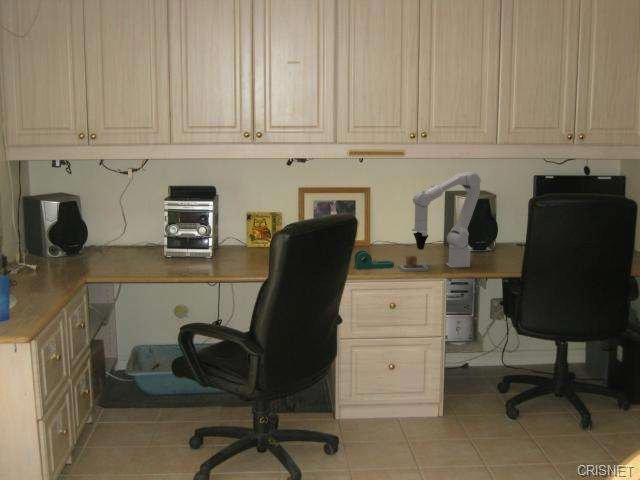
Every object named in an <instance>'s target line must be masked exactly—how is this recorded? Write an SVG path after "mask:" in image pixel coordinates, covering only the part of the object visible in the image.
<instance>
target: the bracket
mask: <svg viewBox="0 0 640 480" xmlns="http://www.w3.org/2000/svg"><path fill="white" fill-rule="evenodd" d="M354 268H356V270H371V269H372V270H373V269H374V270H376V269H377V270H378V269H393V268H395V261H393V260H373V258H372V256H371V254H370V253H369V252H367V250H364V249H359V250H357V251H356V252H355V254H354Z"/></svg>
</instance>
